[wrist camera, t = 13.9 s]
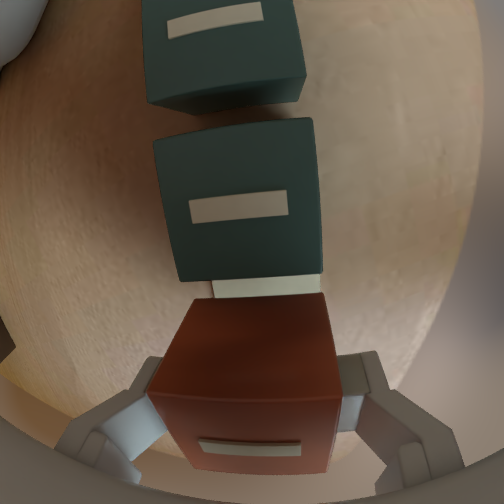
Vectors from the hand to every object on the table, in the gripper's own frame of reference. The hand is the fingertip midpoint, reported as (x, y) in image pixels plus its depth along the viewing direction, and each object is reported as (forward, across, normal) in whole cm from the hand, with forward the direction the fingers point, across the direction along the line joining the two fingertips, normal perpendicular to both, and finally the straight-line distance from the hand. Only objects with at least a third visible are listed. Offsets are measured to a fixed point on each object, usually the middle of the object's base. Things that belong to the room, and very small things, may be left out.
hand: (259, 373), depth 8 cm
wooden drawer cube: (+1, 0, 0) cm, 1 cm away
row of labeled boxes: (+5, 0, -7) cm, 9 cm away
